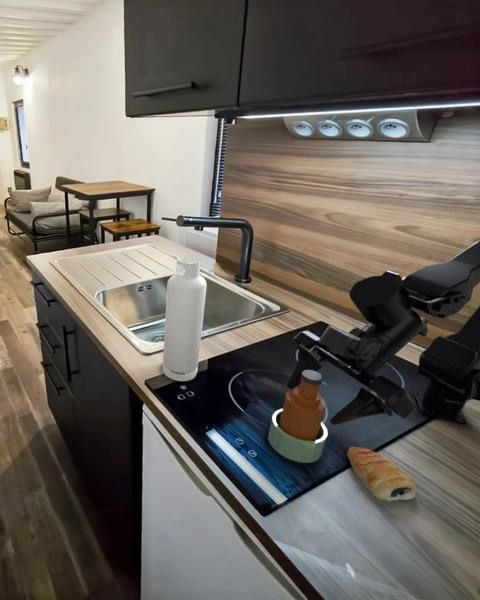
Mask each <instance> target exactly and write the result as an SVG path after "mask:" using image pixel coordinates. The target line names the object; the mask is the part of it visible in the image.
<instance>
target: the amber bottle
mask: <svg viewBox="0 0 480 600" xmlns="http://www.w3.org/2000/svg"><path fill="white" fill-rule="evenodd" d="M301 379H302V380H301V383H300V384H299V385H298V386H296V387H294V388H293V389H289V390H288V391H287V392H286V394H285V399H284V402H283V407H282V409H283V411H282V415H281V419H280V423H279V428H280V429H282V430H283V431H284V432H285V433H286V434H288V435H290V436H292V437H294V438H297V439H300V440H304V441H315V440H316V438H317V435H318V432H319V428H320V425H321V422H322V423H323V418H324V414H325V411H326V408H327V402H326V400H325V399H324V398H323V397H322V395H321V393H320V392H319V390H320V386H321V384H322V383H323V380H324V376H323V375H322V373H320V372H318V371H313V370H304V371H303V372H302V375H301Z"/></svg>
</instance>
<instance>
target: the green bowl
mask: <svg viewBox="0 0 480 600" xmlns="http://www.w3.org/2000/svg"><path fill="white" fill-rule="evenodd" d="M282 411H283V408H279V409H277V410H275V412H273V413H272V415H271V420H270V423H269V427H268V428H269V429H268V434H267V440H268V442H269V445H270V446H271V447H272V449H274V451H276V452H277V453H278V454H280V455H281V456H283V457H284V458H285V459H288V460H290V461H293V462H297V463H303V464H308V463H309V464H310V463H315V462H317V461H319V459H320V458H321V457H322V455H323V452H324V449H325V446H326V444H327V440H328V438H329V433H328V428H327V427H326V426H325V424H324V422H323V421H322V422H321V425H320V428H319V432H318V435H317V438H316V440H315V441H304V440H300V439H297V438H294V437H292V436H290V435H288V434H286V433H285V432H284V431H283V430H282V429H280V428H279V423H280V419H281V415H282Z"/></svg>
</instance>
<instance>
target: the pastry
mask: <svg viewBox="0 0 480 600" xmlns="http://www.w3.org/2000/svg"><path fill="white" fill-rule="evenodd" d="M346 456H347V458H348V460H349V462H350V465H351V467H352V469H353V473H354V475H356V476H357V478H358V479H359V480H360V481H361V482H362V484H363V485H364V486H365V488H366V489H367V490H368V491H369V492H370V493H371V494H372V495H373V497H374V498H376V499H377V500H380V501H384V500H385V501H389V502H390V501H397V500H398V501H399V500H404V501H405V500H406V501H409V500H412V499H414V498H415V497H416V495H417V493H418V488H417V485H416V483H415V482H413V481H412V480H411V479H410V477H409V476H408V475H407V474H406V473H405V472H404V471H403V470H402V469H400V467H399V466H398V465H397V464H396V463H393V462H392V461H390V460H388V459H386V458H384V457H383V456H382V455H381V454H379V453H378V452H375V451H373V450H371V449H370V448H367V447H361V446H360V447H359V446H358V447H356V446H350V447H349V448H348V451H347V453H346Z"/></svg>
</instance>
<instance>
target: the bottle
mask: <svg viewBox="0 0 480 600" xmlns="http://www.w3.org/2000/svg"><path fill="white" fill-rule="evenodd" d="M194 261H197V262H194ZM201 262H202V260H201V258H199V257H196V256H191V255H190V256H189V255H187V256H186V255H184V256H179V257H177V258H176V268H175V273H174V274H172V276H170V277H169V278H168V280H167V284H166V300H165V301H166V302H165V320H164V336H163V338H164V339H163V353H162V361H163V362H162V373H163V374H164V376H165V377H167V378H169V379H171V380H173V381H178V382H189V381H192V380H193V379H195V378H196V377H197V374H198V371H199V361H200V353H201V343H202V334H203V324H204V315H205V314H204V313H205V306H206V305H205V304H206V295H207V287H208V283H207V281H206V279H205V277H203V276H202V275H201V274H200V273H201Z"/></svg>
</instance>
